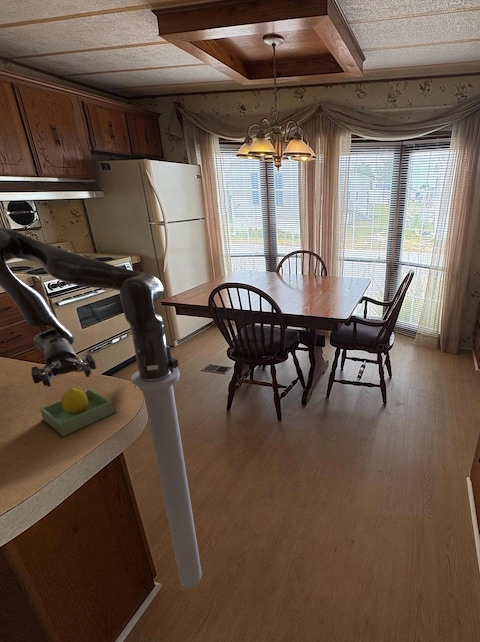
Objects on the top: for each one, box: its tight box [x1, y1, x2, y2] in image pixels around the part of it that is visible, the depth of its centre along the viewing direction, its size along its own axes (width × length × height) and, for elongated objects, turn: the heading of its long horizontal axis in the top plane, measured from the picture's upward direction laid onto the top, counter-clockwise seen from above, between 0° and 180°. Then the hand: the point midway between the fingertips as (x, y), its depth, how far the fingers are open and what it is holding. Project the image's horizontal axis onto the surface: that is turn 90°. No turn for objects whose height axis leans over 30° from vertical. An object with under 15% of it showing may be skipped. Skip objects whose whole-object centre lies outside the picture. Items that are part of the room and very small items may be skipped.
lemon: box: [61, 387, 88, 415], centre depth 90 cm, size 6×6×8 cm
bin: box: [39, 388, 115, 437], centre depth 91 cm, size 12×11×4 cm
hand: (68, 378), depth 91 cm, fingers open, 8 cm apart
